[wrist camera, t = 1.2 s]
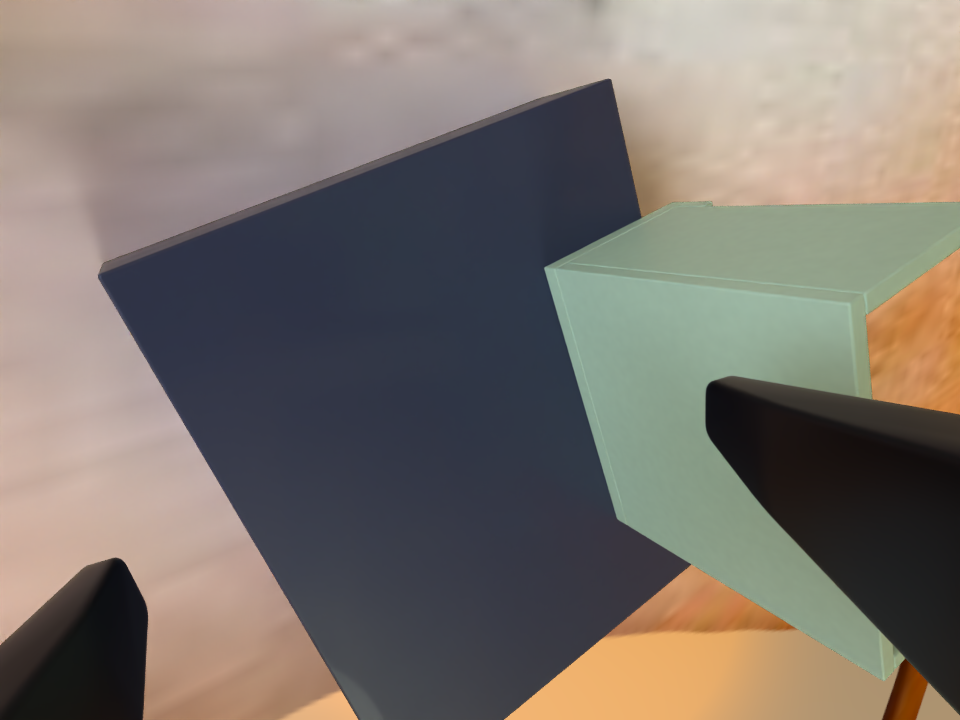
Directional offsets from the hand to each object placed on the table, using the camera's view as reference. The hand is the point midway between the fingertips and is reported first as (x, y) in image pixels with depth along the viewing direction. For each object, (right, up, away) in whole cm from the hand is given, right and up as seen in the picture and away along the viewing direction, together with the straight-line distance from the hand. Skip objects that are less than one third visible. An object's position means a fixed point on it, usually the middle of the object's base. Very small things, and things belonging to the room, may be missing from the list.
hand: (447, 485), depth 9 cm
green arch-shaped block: (+7, +2, +14) cm, 16 cm away
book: (-1, -1, +15) cm, 15 cm away
